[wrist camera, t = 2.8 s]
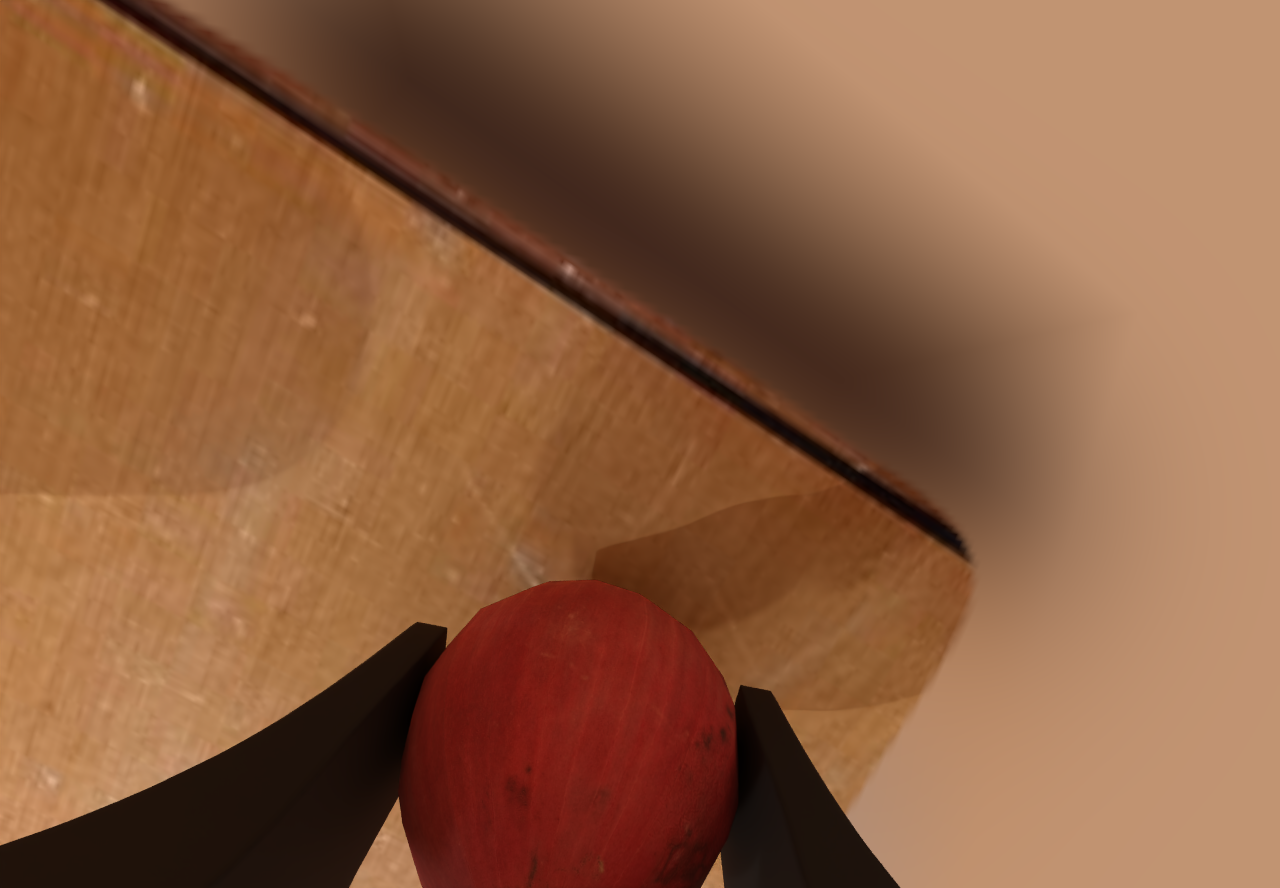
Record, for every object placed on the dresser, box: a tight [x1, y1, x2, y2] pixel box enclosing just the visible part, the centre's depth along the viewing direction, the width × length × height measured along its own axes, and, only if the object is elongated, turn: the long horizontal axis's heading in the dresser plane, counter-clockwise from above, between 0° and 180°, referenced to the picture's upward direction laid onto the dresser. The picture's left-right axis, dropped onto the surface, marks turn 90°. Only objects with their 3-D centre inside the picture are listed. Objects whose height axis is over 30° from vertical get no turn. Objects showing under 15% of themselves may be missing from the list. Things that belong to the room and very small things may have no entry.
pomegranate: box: [398, 580, 739, 888], centre depth 11 cm, size 6×6×8 cm
